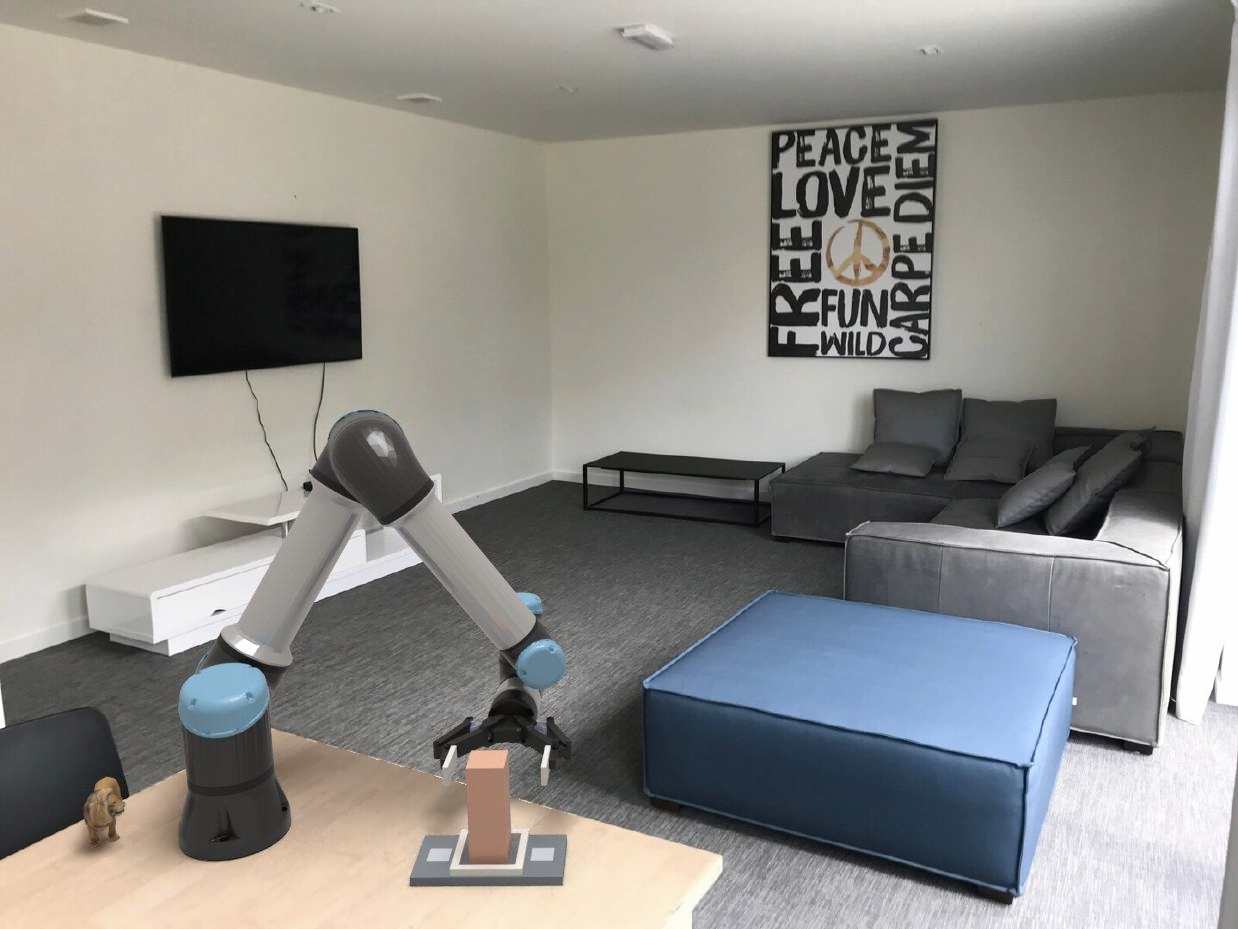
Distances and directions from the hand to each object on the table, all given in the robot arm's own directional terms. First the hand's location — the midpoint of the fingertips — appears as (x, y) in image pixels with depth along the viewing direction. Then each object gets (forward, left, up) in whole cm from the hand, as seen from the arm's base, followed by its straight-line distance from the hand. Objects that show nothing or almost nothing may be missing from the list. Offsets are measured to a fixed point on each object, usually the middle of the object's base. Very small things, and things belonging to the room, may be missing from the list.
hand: (494, 776), depth 136 cm
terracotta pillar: (+2, -3, -9) cm, 10 cm away
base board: (+2, -3, -11) cm, 11 cm away
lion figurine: (-49, -29, -11) cm, 58 cm away
